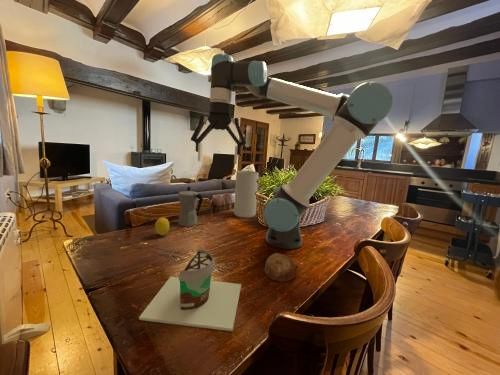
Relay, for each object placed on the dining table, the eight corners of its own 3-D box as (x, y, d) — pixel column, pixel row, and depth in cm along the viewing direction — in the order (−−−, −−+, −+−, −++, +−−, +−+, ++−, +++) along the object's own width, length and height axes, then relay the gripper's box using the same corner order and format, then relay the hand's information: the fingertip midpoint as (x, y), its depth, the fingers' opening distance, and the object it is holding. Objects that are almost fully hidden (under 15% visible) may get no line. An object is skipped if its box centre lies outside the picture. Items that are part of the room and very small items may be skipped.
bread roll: (266, 275, 77) (258, 254, 75) (294, 263, 77) (286, 242, 75) (272, 293, 67) (262, 270, 65) (304, 279, 67) (295, 256, 66)
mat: (241, 286, 63) (241, 284, 63) (232, 331, 47) (232, 328, 47) (170, 278, 64) (170, 276, 64) (139, 319, 48) (139, 317, 48)
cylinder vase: (256, 213, 137) (260, 172, 133) (253, 219, 125) (256, 173, 121) (236, 211, 139) (239, 170, 135) (231, 216, 127) (234, 171, 123)
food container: (205, 318, 49) (206, 275, 48) (177, 314, 50) (178, 271, 48) (218, 285, 61) (220, 250, 60) (196, 282, 62) (198, 247, 60)
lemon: (172, 234, 95) (172, 216, 94) (163, 239, 90) (163, 219, 89) (161, 232, 97) (161, 214, 96) (151, 236, 92) (151, 217, 91)
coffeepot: (170, 222, 110) (171, 185, 107) (185, 218, 118) (186, 184, 115) (194, 230, 102) (195, 190, 100) (208, 225, 110) (209, 188, 108)
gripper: (255, 107, 85) (251, 164, 88) (189, 103, 86) (188, 159, 90) (254, 102, 77) (250, 165, 81) (182, 98, 79) (181, 160, 82)
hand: (217, 162), depth 85 cm, fingers open, 13 cm apart
